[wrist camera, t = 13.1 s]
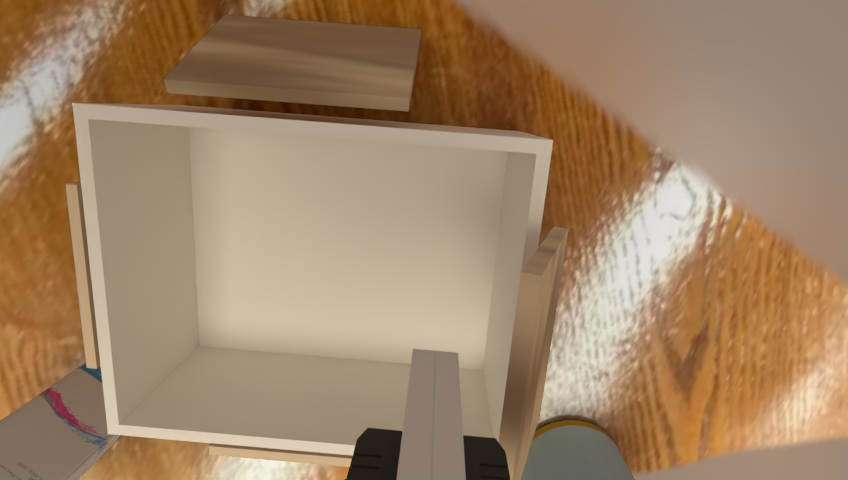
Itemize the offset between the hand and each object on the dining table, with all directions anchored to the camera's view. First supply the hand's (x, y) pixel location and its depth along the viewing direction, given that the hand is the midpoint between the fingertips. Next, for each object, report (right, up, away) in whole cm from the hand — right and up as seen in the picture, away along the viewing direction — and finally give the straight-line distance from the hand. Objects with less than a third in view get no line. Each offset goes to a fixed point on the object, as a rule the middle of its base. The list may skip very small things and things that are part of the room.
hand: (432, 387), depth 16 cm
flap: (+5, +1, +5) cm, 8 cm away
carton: (-5, +4, +15) cm, 16 cm away
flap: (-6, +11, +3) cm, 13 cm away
